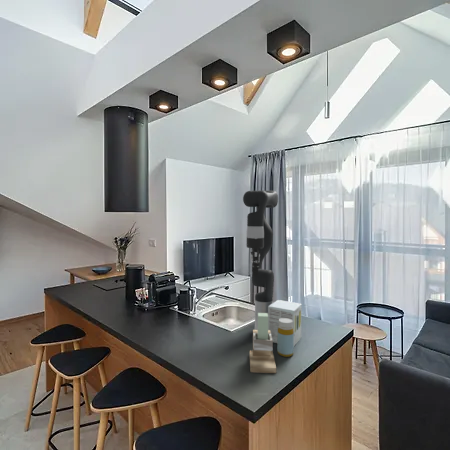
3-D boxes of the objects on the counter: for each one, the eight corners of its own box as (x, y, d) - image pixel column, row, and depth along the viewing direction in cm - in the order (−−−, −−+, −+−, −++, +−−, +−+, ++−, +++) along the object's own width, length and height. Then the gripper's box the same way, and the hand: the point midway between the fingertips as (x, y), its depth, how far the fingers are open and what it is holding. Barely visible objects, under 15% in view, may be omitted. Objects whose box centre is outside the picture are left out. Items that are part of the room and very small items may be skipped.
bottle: (274, 353, 128) (274, 320, 127) (283, 348, 133) (283, 316, 132) (287, 359, 123) (288, 324, 122) (296, 353, 128) (296, 320, 127)
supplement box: (293, 347, 133) (294, 310, 133) (267, 341, 140) (267, 306, 140) (301, 337, 145) (302, 303, 144) (277, 332, 152) (277, 299, 151)
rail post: (257, 341, 119) (257, 312, 119) (267, 341, 119) (267, 313, 119) (257, 345, 115) (258, 316, 115) (267, 346, 115) (268, 316, 115)
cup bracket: (249, 355, 126) (249, 328, 126) (272, 355, 126) (272, 328, 125) (250, 372, 112) (250, 341, 112) (276, 373, 112) (276, 342, 111)
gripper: (246, 235, 131) (246, 270, 132) (246, 237, 117) (246, 277, 118) (262, 235, 131) (262, 271, 131) (265, 238, 117) (264, 277, 117)
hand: (254, 273), depth 124 cm, fingers open, 8 cm apart
